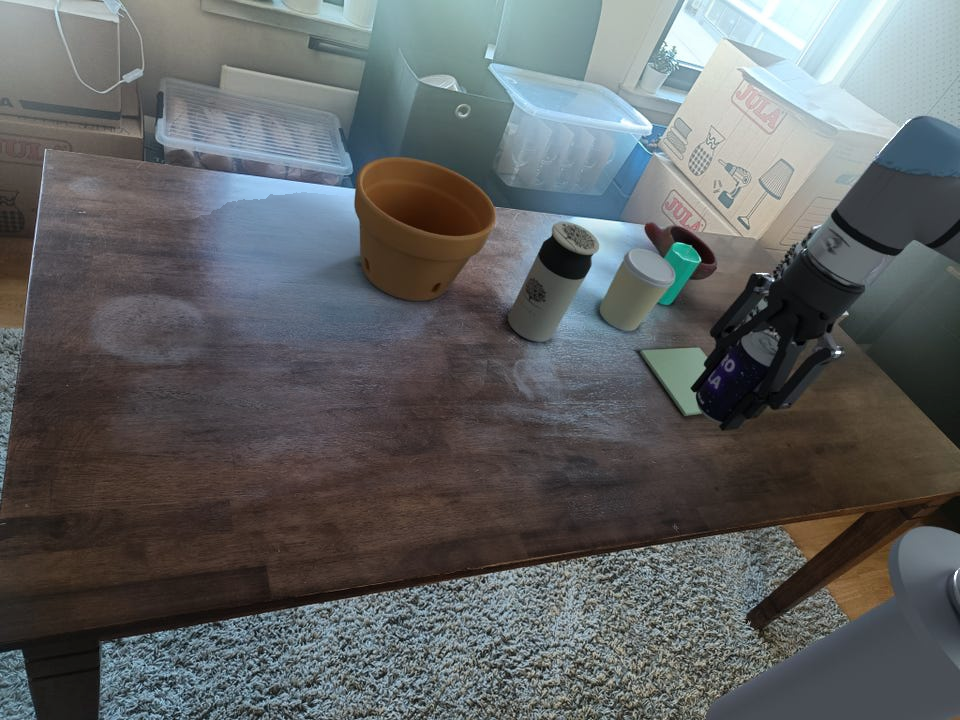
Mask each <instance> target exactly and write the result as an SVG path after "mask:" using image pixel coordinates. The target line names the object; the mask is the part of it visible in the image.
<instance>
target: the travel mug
mask: <svg viewBox="0 0 960 720" xmlns="http://www.w3.org/2000/svg"><path fill="white" fill-rule="evenodd" d="M600 246H601V245H600V242H599V240H598V238H597V237H596V236H595V234H593V233H592V232H590V230H589V229H587V228H585V227H583V226H581V225H579V224H577V223H574V222H569V221H558V222H556V223H554V224H553V225H552V227H551V236H549V237H548V238H547V239H545V240H544V241H543V242H542V244H541V246H540V248H539V251H538V252H537V254H536V256H535V259H534V260H533V263H532V265H531V267H530V269H529V272H528V273H527V275H526V277H525V280H524V282H523V284H522V286H521V287H520V290H519V292H518V294H517V296H516V298H515V300H514V302H513V305H512V307H511V309H510V311H509V313H508V316H507V320H508V323H509V325H510V328H512V329H513V331H514V332H516V333H517V334H518V335H519V336H521V337H522V338H524V339H526V340H528V341H532V342H538V343H540V342H548V341H549V340H551V339H552V338H553V336H554V334H555V333H556V330H557V329H558V328H559V325H560V324H561V322H562V320H563V318H564V316H565V315H566V313H567V311H568V309H569V308H570V306H571V304H572V302H573V301H574V299H575V296H577V294H578V291H579V290H580V288H581V286H582V284H583V282H584V281H585V279H586V277H587V275H588V274H589V272H590V270H591V268H592V266H593V265H592V264H593V260H592V257H593V256H594V255H595V254H596V253H598V252H599V250H600V248H601V247H600Z"/></svg>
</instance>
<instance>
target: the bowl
mask: <svg viewBox="0 0 960 720" xmlns="http://www.w3.org/2000/svg"><path fill="white" fill-rule="evenodd" d="M644 232H645V235H646V237H647V238H648V240H649V241H650V242H651V243H652V245H653V246H654V247H655V249H656V250H657V252H658V253H659V256H661V257H662V258H663V259H664V257H665V256H666V254H667V253H668V251H669V250H670V248H671V247H672V245H673V244H674V243H676V242H678V243H684V244H687V245H690V246H691V245H692V248H693V249H694V250H695V251H696V252H697V253H698V255H699V256H700V258H701V262H700V263H699V265H698V266H697V268H696V269H695V270H694V272H693V273H692V275H691V276H690V278H689V279H688V280H690V281H701V280H704V279H707V278H709V277H710V276H711V275H713V274H714V272H715V271H716V270H717V268H718V267H717V266H718V259H717V256H716V254H715V253H714V252H713V250H712V248H711V247H710V246H709V245H708V244H707V243H706V242H705V241H704V240H703V239H701V238H700V237H698V236H697V234H695V233H693V232H692V231H690V230H689V229H687V228H685V227H684V226H681V225H677V224H671V225H669V226H667V227H665V228H661V227H660V226H658V224H657V223H655V222H653V221H651V222H647V223H645V225H644Z"/></svg>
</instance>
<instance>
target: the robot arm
mask: <svg viewBox="0 0 960 720" xmlns="http://www.w3.org/2000/svg"><path fill="white" fill-rule="evenodd" d="M820 225H821V226H820V228H819V229H818V230H817V231H816V233H815V234H814V235H813V236H812V238H811V239H810V240H809V241H808V243H807V249H803V250H801V251H800V252H799V253H798V255H797V256H796V257H795V258H794V260H793V261H792V262H791V263H790V265H789V266H788V267H787V268H786V270H785V271H784V272H783V275H782V277H781V278H779V279H777V280H774V279H772V276H771V274H770V273H763V272H761V273H760V272H759V273H757V272H756V273H755V272H754V273H751V274H750V276H749V278H748V280H747V283H746V285H745V287H744V289H743V291H741V292H740V295H739V296H737V298H736V299H735V300H734V302H732V304H731V305H730V306H729V308H728V309H727V310H726V311H725V312H723V314H722V316H721V317H720V318H719V319H718V320H717V321H716V323H715V324H714V325H713V326H712V328H711V329H710V330H709V335H710V337H711V338H713V339H714V341H715V346H714V349H713V350H712V351H711V352H710V354H709V355H708V356H707V359H706V360H705V362H704V366H705V368H706V369H705V370H704V372H703V373H702V374H701V375H700V377H699V378H698V379H697V380H696V382H695V383H694V384H693V385H692V387H691V388H690V389H691V390H692V391H693V393H694V392H697V391H698V390H699V389H700V387H701V386H702V385H703V384H704V383H705V381H706V380H707V379H708V378H709V376H710V375H711V374H712V373H713V372H714V370H715V369H716V368H717V367H718V365H719V364H720V363H721V362H722V360H723V359H724V358H725V357H726V356H727V354H728V353H729V352H730V351H731V349H732V348H733V347H734V346H735V345H736V343H737V342H738V341H739V340H740V338H741V337H743V336H745V335H747V334H749V333H750V332H751V331H752V332H761V331H765V330H766V329H768V328H769V327H773V328H775V329H776V330H777V332H778V334H779V336H780V338H778V340H779V342H778V344H777V347H778V350H777V352H776V354H775V356H774V358H773V360H772V362H771V365H770V367H769V369H768V371H767V373H766V375H765V377H764V379H763V382H762V384H761V386H760V388H759V390H758V391H757V392H749V393H748V394H747V396H746V397H745V398H744V399H743V400H742V401H741V402H740V403H739V404H738V406H737V407H736V408H735V409H734V410H733V411H732V412H731V413H730V415H729V416H728V417H727V418H726V419H725V420H724V421H723V422H720V424H719V425H718V427H719V429H720V430H721V432H727V431H733V430H739V428H740V427H741V426H742V425H743V423H744V422H746V421H747V420H754V419H757V418H759V417H760V416H761V415H762V414H763V412H764V411H765V410H767V408H768V407H769V408H770V409H771V410H772V411H779V410H785V409H790V408H792V406H794V404H796V402H797V401H798V400H799V399H800V398H801V397H802V395H803V394H804V393H805V392H806V391H807V390H808V389H809V388H810V386H811V385H812V384H813V383H814V382H815V381H816V380H817V379H818V377H819V376H820V375H821V374H822V373H823V372H824V371H825V369H826V368H827V367H828V366H829V365H830V364H833V363H834V362H836V361H838V360H840V359H841V358H843V357H844V356H845V354H846V350H845V348H844V347H842V346H838V345H837V344H836V342H835V340H834V338H833V336H832V334H831V333H832V332H833V330H834V326H835V324H836V322H837V320H838V319H839V318H841V317H842V316H843V315H844V314H845V313H847V311H848V310H849V309H850V308H851V307H852V306H853V305H854V303H855V302H857V300H858V299H859V298H860V297H861V296H862V295H863V294H864V293H865V291H866V286H870V285H872V284H874V282H875V281H877V279H878V278H879V277H880V276H881V275H882V274H883V273H884V271H885V270H886V269H887V268H888V267H889V266H890V265H891V263H892V262H893V261H894V260H895V259H896V258H897V257H898V256H899V255H901V253H902V252H903V251H904V250H905V249H906V247H907V246H908V245H909V244H911V243H912V242H913V241H916V242H918V243H920V244H921V245H923V246H925V247H926V248H929V249H931V250H933V251H934V252H936V253H939V254H940V255H942V256H944V257H945V258H947V259H949V260H951V261H953V262H955V263H956V264H959V265H960V128H959V127H958V126H956V125H954V124H952V123H949V122H947V121H945V120H942V119H940V118H938V117H933V116H930V115H918V116H915V117H912V118H910V119H908V120H907V121H906V122H905V123H904V124H903V125H902V126H901V127H900V128H899V130H897V132H896V133H895V134H894V135H893V136H892V138H890V140H889V141H888V142H887V143H886V144H885V145H884V146H883V148H881V150H880V151H878V152H876V153H875V155H874V157H873V159H872V160H871V162H870V163H869V164H868V166H867V167H866V168H865V169H864V171H863V172H862V173H861V175H860V176H859V177H858V178H857V180H856V181H855V182H854V183H853V185H852V186H851V187H850V189H849V190H848V191H847V193H846V194H845V195H843V197H842V199H840V201H839V202H838V204H837V205H836V206H835V208H834V209H833V211H832V212H831V213H829V215H828V216H827V217H826V219H825V220H824V221H823V222H822V224H820ZM768 292H769V295H768V303H767V307H766V308H764V309H763V310H761V311H760V312H758V313H757V314H755V315H754V318H752V319H751V320H749V321H748V322H746V323H745V324H743V325H742V326H741V327H739V328H738V329H736V328H737V327H738V326H739V324H740V323H741V322H742V321H743V320H744V319H745V318H746V317H747V315H748V314H749V313H750V312H751V311H752V310H753V309H754V307H755V306H756V305H757V304H758V303H759V302H760V301H761V300H762V298H763V297H764V295H765V294H767V293H768ZM735 329H736V330H735ZM734 330H735V331H734ZM816 339H817V343H816V345H814V347H813V348H812V349H811V352H812V354H810V355H809V356H808V357H806V358H805V359H804V361H803V362H802V363H801V365H800V366H798V368H797V369H796V370H795V371H794V373H793V374H792V375H791V373H792V371H793V369H794V366H795V365H796V362H797V360H798V358H799V356H800V354H801V353H802V352H803V351H805V349H806V348H807V345H808V344H809V342H810V340H816ZM790 375H791V376H790ZM789 376H790V377H789ZM946 587H947V593H948V597H949V600H950V602H951V605H952V607H953V609H954V611H955V613H956V614H957V616H958V618H959V619H960V568H959V569H958V570H956V571H954V572H952V573H951V574H950V575H949V576H948V579H947V584H946Z"/></svg>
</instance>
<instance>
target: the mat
mask: <svg viewBox="0 0 960 720" xmlns="http://www.w3.org/2000/svg"><path fill="white" fill-rule="evenodd" d="M639 354H640V355H641V357H642V359H644V361H645V362H646V363H647V365H648V367H649V368H650V369H651V371H652V372H653V374H654V375H655V376H656V378H657V379H658V381H659V382H660V383H661V385H662V387H663V388H664V389H665V391H666V392H667V394H668V396H670V398H671V399H672V401H673V402H674V404H675V405H676V407H677V408H678V409H679V411H680V412H681V414H682V415H683V416H684V417H688V416H694V415H703V414H702V413H701V411H700V410H699V408H698V405H697V401H696V393H697V392H694V393H693V391H692V390H691V389H690V388H691V387H692V385H693V384H694V383H695V382H696V380H697V379H698V378H699V377H700V375H701V374H702V373H703V372H704V370H705V369H706V368H705V366H704V362H705V360H706V359H707V358H708V356H707V355H706V354H705V353H704V351H703V350H702V349H701V348H700V347H680V348H661V349H660V348H659V349H658V348H657V349H641V350H640V351H639Z"/></svg>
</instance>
